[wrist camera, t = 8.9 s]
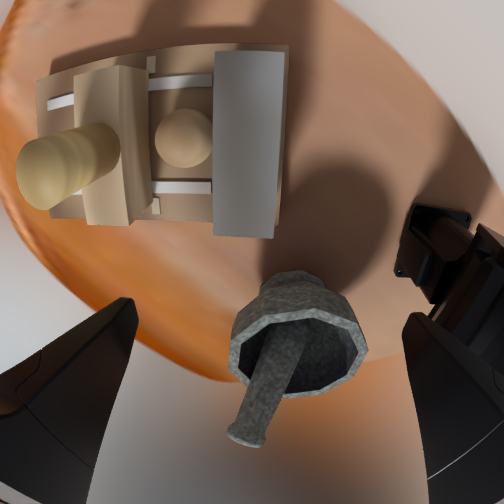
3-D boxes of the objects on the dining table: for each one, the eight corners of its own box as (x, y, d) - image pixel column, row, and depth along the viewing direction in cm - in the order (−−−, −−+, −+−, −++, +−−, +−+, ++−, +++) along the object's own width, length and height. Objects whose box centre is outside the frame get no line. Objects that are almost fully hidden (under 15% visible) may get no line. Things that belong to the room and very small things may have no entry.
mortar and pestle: (297, 227, 21) (319, 354, 11) (368, 295, 24) (410, 411, 13) (205, 310, 26) (174, 428, 15) (278, 358, 28) (278, 465, 18)
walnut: (220, 107, 16) (209, 108, 13) (219, 161, 18) (209, 174, 14) (166, 109, 16) (144, 111, 13) (167, 161, 18) (147, 174, 15)
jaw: (148, 70, 14) (58, 58, 7) (153, 201, 19) (84, 274, 11) (108, 77, 14) (9, 79, 7) (116, 201, 19) (39, 268, 11)
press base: (287, 49, 15) (297, 24, 9) (277, 217, 21) (280, 265, 15) (47, 79, 15) (-9, 85, 10) (60, 211, 21) (15, 246, 16)
